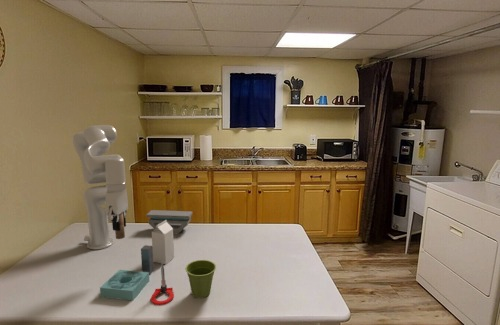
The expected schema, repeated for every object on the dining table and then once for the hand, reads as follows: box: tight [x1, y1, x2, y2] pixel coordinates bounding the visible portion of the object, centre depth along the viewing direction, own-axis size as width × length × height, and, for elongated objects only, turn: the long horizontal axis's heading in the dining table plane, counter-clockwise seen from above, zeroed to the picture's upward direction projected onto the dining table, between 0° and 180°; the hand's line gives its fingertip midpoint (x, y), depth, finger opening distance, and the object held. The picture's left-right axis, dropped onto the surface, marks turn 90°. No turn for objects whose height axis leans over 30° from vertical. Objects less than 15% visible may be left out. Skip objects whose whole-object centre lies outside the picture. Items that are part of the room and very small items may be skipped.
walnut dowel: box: [114, 212, 126, 240], centre depth 133 cm, size 4×4×12 cm
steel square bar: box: [140, 244, 155, 276], centre depth 137 cm, size 4×4×12 cm
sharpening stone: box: [146, 209, 193, 235], centre depth 183 cm, size 25×8×11 cm, turn 86°
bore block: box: [99, 269, 150, 301], centre depth 126 cm, size 13×13×4 cm
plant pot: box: [184, 259, 217, 299], centre depth 122 cm, size 12×12×11 cm
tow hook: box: [150, 262, 175, 306], centre depth 119 cm, size 8×13×9 cm
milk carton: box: [151, 220, 175, 265], centre depth 148 cm, size 7×7×19 cm
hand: (119, 227), depth 133 cm, fingers closed on walnut dowel, 3 cm apart
